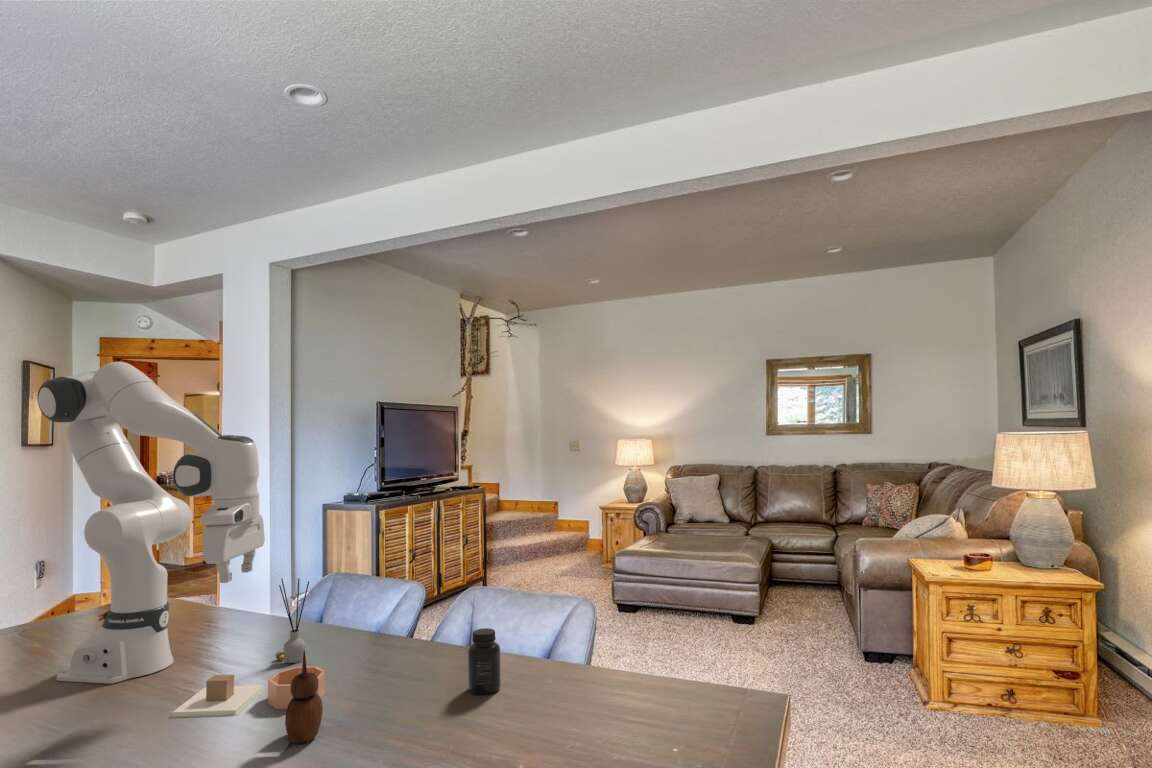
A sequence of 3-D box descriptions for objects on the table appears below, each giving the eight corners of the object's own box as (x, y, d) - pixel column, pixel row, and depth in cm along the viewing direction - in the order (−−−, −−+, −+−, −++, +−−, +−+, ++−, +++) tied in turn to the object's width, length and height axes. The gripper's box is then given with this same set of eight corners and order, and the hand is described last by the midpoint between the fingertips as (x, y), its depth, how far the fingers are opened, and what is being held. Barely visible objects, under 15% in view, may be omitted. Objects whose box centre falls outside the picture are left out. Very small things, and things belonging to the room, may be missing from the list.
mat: (168, 720, 124) (168, 717, 124) (204, 692, 137) (204, 689, 137) (237, 718, 124) (237, 715, 124) (266, 690, 137) (266, 687, 137)
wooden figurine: (293, 730, 119) (295, 647, 120) (326, 728, 120) (326, 646, 121) (280, 748, 112) (281, 661, 113) (314, 747, 113) (315, 659, 114)
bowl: (261, 712, 127) (261, 686, 127) (282, 691, 137) (282, 667, 137) (312, 710, 127) (313, 684, 128) (330, 689, 137) (330, 665, 138)
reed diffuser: (316, 661, 154) (317, 576, 155) (294, 672, 148) (295, 583, 149) (283, 656, 158) (284, 573, 159) (260, 666, 151) (262, 580, 152)
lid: (172, 716, 124) (173, 690, 125) (205, 690, 136) (206, 667, 137) (235, 714, 125) (236, 688, 125) (263, 688, 137) (263, 665, 137)
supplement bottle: (506, 685, 138) (506, 628, 139) (489, 698, 132) (489, 638, 133) (479, 680, 141) (479, 624, 142) (461, 692, 135) (461, 634, 136)
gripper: (243, 505, 148) (244, 567, 147) (195, 518, 128) (196, 589, 127) (271, 504, 148) (272, 565, 147) (228, 516, 128) (229, 587, 127)
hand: (236, 576), depth 137 cm, fingers open, 8 cm apart
